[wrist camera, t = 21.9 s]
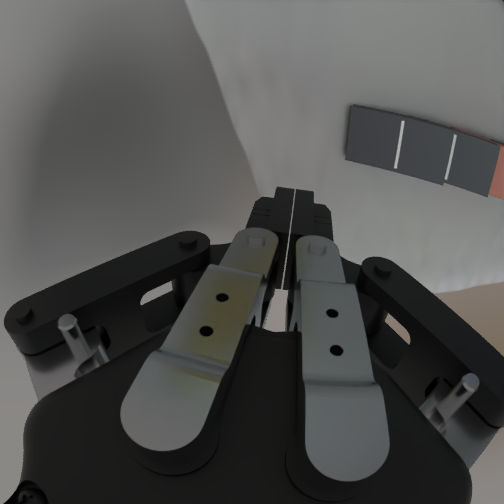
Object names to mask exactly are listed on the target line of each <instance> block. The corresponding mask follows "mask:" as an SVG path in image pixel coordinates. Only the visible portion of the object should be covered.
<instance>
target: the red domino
mask: <svg viewBox="0 0 504 504" xmlns="http://www.w3.org/2000/svg"><path fill="white" fill-rule="evenodd" d="M450 128H454V127H450ZM454 129H457V128H454ZM457 130H460V129H457ZM460 131H463V130H460ZM463 132H466V131H463ZM466 133H469V132H466ZM469 134H472V133H469ZM472 135H475V134H472ZM475 136H477V135H475ZM478 137H480V136H478ZM480 138H483V137H480ZM483 139H486V138H483ZM486 140H488V139H486ZM489 141H491V140H489ZM491 142H494V141H491ZM494 143H496V142H494ZM497 144H498V145H499V146H500V147H501V148H500V152H499V157H498V161H497V165H496V169H495V172H494V176H493V180H492V183H491V187H490V190H489V194H491V195H493V196H496V197H499V198H501V199H504V145H501V144H499V143H497Z"/></svg>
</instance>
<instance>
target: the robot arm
mask: <svg viewBox="0 0 504 504" xmlns="http://www.w3.org/2000/svg"><path fill="white" fill-rule="evenodd" d="M293 197H294V189H291V188H283V187H277V188H276V192H275V196H274V198H270V197H261V198H260V199H258V200H257V201H255V204H254V207H253V209H252V212H251V215H250V217H249V220H248V223H247V225H246V228H245V229H243V230H241V231H239V232H238V233H237V234H236V235H235V237H234V239H233V241H232V242H231V243H228V244H220V245H210V239H209V238H208V237H207V236H206V235H205V234H203V233H200V232H197V231H183V232H179V233H176V234H174V235H171V236H169V237H166V238H164V239H161V240H159V241H156V242H154V243H151V244H149V245H146V246H144V247H141V248H139V249H137V250H134V251H132V252H129V253H127V254H124V255H122V256H120V257H117V258H115V259H112V260H110V261H108V262H105V263H103V264H101V265H98V266H96V267H94V268H92V269H89V270H87V271H85V272H82V273H80V274H77V275H75V276H73V277H71V278H68V279H66V280H64V281H62V282H60V283H57V284H55V285H53V286H51V287H48V288H46V289H44V290H42V291H39V292H37V293H35V294H33V295H31V296H29V297H26V298H24V299H22V300H20V301H18V302H17V303H15V304H14V305H13V306H12V307H11V308H10V309H9V310H8V311H7V313H6V315H5V318H4V326H5V328H6V330H7V332H8V333H9V335H10V336H11V338H12V340H13V341H14V343H15V344H16V347H17V349H18V351H19V352H20V354H21V355H22V357H23V358H24V359H25V361H26V364H27V368H28V371H29V374H30V377H31V381H32V383H33V387H34V390H35V392H36V395H37V398H38V401H39V402H38V403H37V404H36V405H35V406H34V407H33V409H32V411H31V412H30V414H29V416H28V418H27V420H26V423H25V428H24V435H23V436H24V437H23V442H24V443H23V446H24V454H23V467H22V473H21V479H20V483H19V485H18V487H17V489H16V491H15V492H14V493H13V495H12V496H11V497H10V498H9V499H8V500H7V501H6V502H5V503H4V504H470V502H471V497H472V481H471V476H470V473H469V469H470V468H471V466H472V465H473V464H474V463H475V461H476V460H477V459H478V457H479V456H480V455H481V454H482V452H483V451H484V450H485V448H486V447H487V445H488V444H489V443H490V441H491V440H492V439H493V437H494V436H495V434H496V433H497V432H499V431H500V430H501V429H502V428H504V357H503V356H502V355H501V354H500V353H499V352H498V351H497V350H496V349H495V348H494V347H493V346H492V345H491V344H490V343H488V342H487V341H486V340H485V339H484V338H483V337H482V336H481V335H480V334H479V333H478V332H476V331H475V330H474V329H473V328H472V327H471V326H470V325H469V324H468V323H466V322H465V321H464V320H463V319H462V318H461V317H460V316H458V315H457V314H456V313H455V312H454V311H453V310H452V309H450V308H449V307H448V306H447V305H446V304H445V303H443V302H442V301H441V300H440V299H439V298H437V297H436V296H435V295H434V294H433V293H431V292H430V291H429V290H428V289H427V288H425V287H424V286H423V285H422V284H421V283H419V282H418V281H417V280H416V279H414V278H413V277H412V276H411V275H409V274H408V273H407V272H406V271H404V270H403V269H402V268H401V267H399V266H398V265H397V264H395V263H394V262H392V261H391V260H388V259H386V258H382V257H369V258H366V259H365V260H364V261H363V262H362V265H358V264H356V263H353V262H350V261H348V260H346V259H344V258H343V257H341V256H340V253H339V249H338V246H337V245H336V244H335V243H334V242H333V230H332V220H331V211H330V210H329V209H328V208H327V207H326V205H322V204H315V203H314V192H313V191H306V190H299V189H296V194H295V202H294V210H293V218H292V226H291V233H290V241H289V248H288V256H287V263H286V270H285V277H284V285H283V290H288V297H287V304H286V321H285V332H272V331H269V330H266V329H264V326H265V323H266V320H267V316H268V313H269V309H270V306H271V300H272V297H273V296H274V292H275V289H281V285H282V278H283V272H284V265H285V258H286V251H287V244H288V237H289V229H290V222H291V214H292V206H293ZM170 281H172V288H173V290H172V291H170V292H168V293H166V294H164V295H162V296H160V297H158V298H156V299H154V300H151V301H150V302H147V303H145V304H144V305H141V306H140V301H141V299H142V297H143V295H144V294H145V293H147V292H148V291H150V290H152V289H155V288H157V287H159V286H161V285H163V284H165V283H167V282H170ZM388 313H389V314H390V315H391V316H392V317H394V318H395V319H396V320H397V321H398V322H399V323H400V324H401V325H402V326H403V327H404V328H405V329H406V330H407V331H408V333H409V335H410V340H411V341H410V345H409V344H408V343H406V342H405V341H404V340H403V339H402V338H401V337H400V336H399V335H398V334H397V333H396V332H395V331H394V330H393V329H392V328H391V327H390V326H389V325H388V324H386V322H385V319H386V317H387V315H388Z"/></svg>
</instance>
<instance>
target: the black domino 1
mask: <svg viewBox="0 0 504 504" xmlns="http://www.w3.org/2000/svg"><path fill="white" fill-rule="evenodd" d="M454 132H455V131H454V130H453V129H452V128H449V127H446V126H442V125H439V124H435V123H432V122H428V121H425V120H421V119H417V118H413V117H409V116H405V115H401V114H397V113H393V112H388V111H383V110H379V109H374V108H369V107H364V106H358V105H353V106H351V114H350V124H349V133H348V142H347V150H346V158H345V160H348V161H353V162H357V163H361V164H366V165H370V166H374V167H378V168H382V169H386V170H390V171H394V172H398V173H401V174H405V175H409V176H412V177H416V178H419V179H423V180H426V181H430V182H433V183H436V184H440V185H443V183H444V179H445V175H446V170H447V166H448V162H449V157H450V153H451V148H452V143H453V138H454Z"/></svg>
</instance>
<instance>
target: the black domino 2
mask: <svg viewBox="0 0 504 504" xmlns="http://www.w3.org/2000/svg"><path fill="white" fill-rule="evenodd" d="M409 117H411V116H409ZM413 118H415V117H413ZM417 119H419V118H417ZM421 120H423V119H421ZM425 121H427V120H425ZM428 122H430V121H428ZM432 123H434V122H432ZM435 124H437V123H435ZM439 125H441V124H439ZM442 126H444V125H442ZM446 127H447V126H446ZM449 128H450V127H449ZM452 129H453V130H454V131H455V132H454V138H453V143H452V148H451V153H450V157H449V162H448V166H447V170H446V175H445V179H444V183H447V184H450V185H454V186H457V187H460V188H463V189H466V190H468V191H471V192H474V193H477V194H480V195H483V196H485V197H488V194H489V190H490V187H491V183H492V180H493V176H494V172H495V169H496V165H497V161H498V157H499V152H500V148H501V147H500V146H499V145H498V144H497V143H494V142H491V141H489V140H486V139H483V138H480V137H478V136H475V135H472V134H469V133H466V132H463V131H460V130H457V129H454V128H452Z"/></svg>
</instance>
